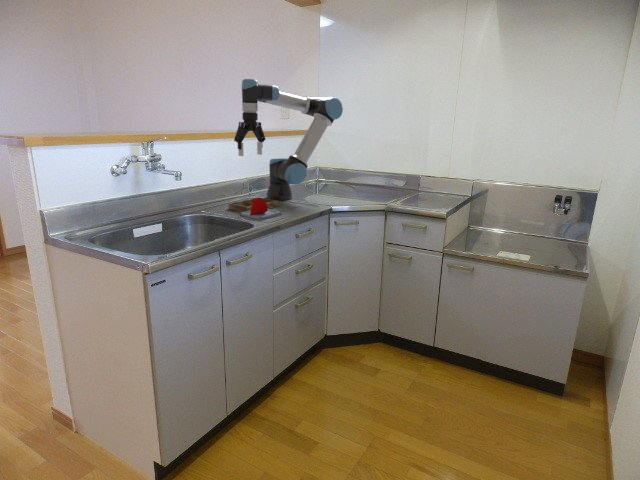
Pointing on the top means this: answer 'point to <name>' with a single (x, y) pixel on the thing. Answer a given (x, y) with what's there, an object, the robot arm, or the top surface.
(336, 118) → the robot arm
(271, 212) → the tray
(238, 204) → the frame
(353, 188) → the top surface
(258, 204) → the gemstone
